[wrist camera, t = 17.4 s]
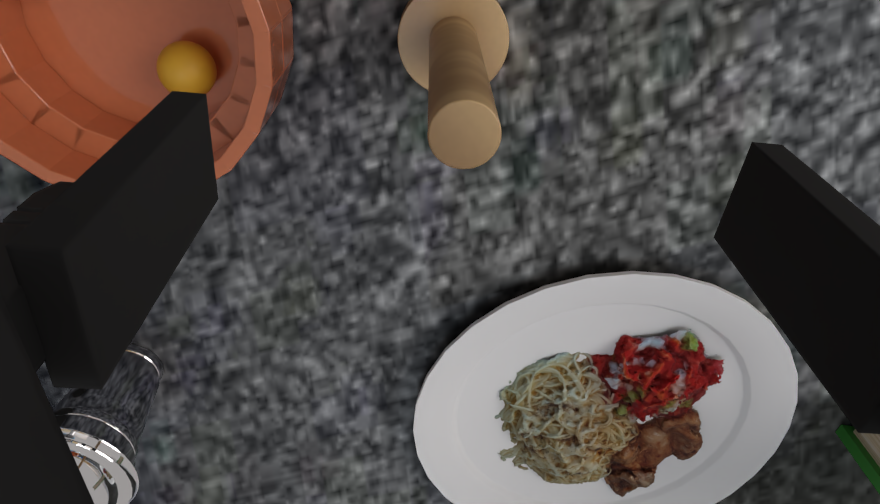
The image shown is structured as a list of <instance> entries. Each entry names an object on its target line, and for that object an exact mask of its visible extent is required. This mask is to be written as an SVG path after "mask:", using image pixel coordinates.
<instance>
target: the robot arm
mask: <svg viewBox="0 0 880 504" xmlns="http://www.w3.org/2000/svg"><path fill="white" fill-rule="evenodd" d="M217 200H218V193H217V184H216V176H215V167H214V158H213V149H212V140H211V131H210V123H209V114H208V105H207V96H206V94H202V93H191V92H179V91H172V92H171V93H170V94H168V95H167V96H166V97H165V98H164V99H163V100H162V101H161V102H160V103H159V104H158V105H157V106H156V107H154V108H153V109H152V110H151V111H150V112H149V113H148V114H147V115H146V116H145V117H144V118H143V119H141V120H140V121H139V122H138V123H137V124H136V125H135V126H134V127H133V128H132V129H131V130H130V131H129V132H127V133H126V134H125V135H124V136H123V137H122V138H121V139H120V140H119V141H118V142H117V143H116V144H115V145H113V146H112V147H111V148H110V149H109V150H108V151H107V152H106V153H105V154H104V155H103V156H102V157H101V158H99V159H98V160H97V161H96V162H95V163H94V164H93V165H92V166H91V167H90V168H89V169H88V170H86V171H85V172H84V173H83V174H82V175H81V176H80V177H79V178H78V179H77V180H76V181H75V182H62V181H60V182H57V183H55V184H53V185H51V186H49V187H46V188H44V189H42V190H40V191H38V192H35V193H34V194H32V195H31V196H30V197H29V198H28V199H27V200H25V201H24V202H23V203H22V204H21V205H20V206H19V207H17V211H13V212H12V213H10V214H9V215H8V216H7V217H6V218H5V219H3V223H0V504H94V502H93V499H92V497H91V495H90V493H89V490H88V488H87V486H86V484H85V482H84V479H83V477H82V475H81V473H80V470H79V468H78V466H77V464H76V461H75V459H74V457H73V455H72V452H71V450H70V448H69V446H68V443H67V441H66V439H65V437H64V435H63V432H62V430H61V428H60V426H59V423H58V421H57V419H56V417H55V414H54V412H53V410H52V408H51V405H50V403H49V401H48V399H47V396H46V394H45V392H44V390H43V388H42V385H41V383H40V381H39V379H38V376H37V374H36V371H37V370H38V369H39V367H40V366H41V365H42V363H43V362H44V361H45V363H46V366H47V369H48V372H49V375H50V378H51V381H52V384H53V386H54V387H63V388H81V389H99V390H102V389H103V387H104V385H105V384H106V382H107V380H108V379H109V377H110V375H111V374H112V372H113V371H114V369H115V367H116V366H117V364H118V362H119V361H120V359H121V357H122V356H123V354H124V352H125V351H126V349H127V348H128V346H129V344H130V343H131V341H132V339H133V338H134V336H135V334H136V333H137V331H138V330H139V328H140V326H141V325H142V323H143V321H144V320H145V318H146V316H147V315H148V313H149V311H150V310H151V308H152V307H153V305H154V303H155V302H156V300H157V298H158V297H159V295H160V293H161V292H162V290H163V289H164V287H165V285H166V284H167V282H168V280H169V279H170V277H171V275H172V274H173V272H174V270H175V269H176V267H177V266H178V264H179V262H180V261H181V259H182V257H183V256H184V254H185V252H186V251H187V249H188V248H189V246H190V244H191V243H192V241H193V239H194V238H195V236H196V234H197V233H198V231H199V229H200V228H201V226H202V225H203V223H204V221H205V220H206V218H207V216H208V215H209V213H210V211H211V210H212V208H213V207H214V205H215V203H216V202H217ZM714 238H715V240H716V241H717V242H718V244H719V245H720V246H721V248H722V249H723V251H724V252H725V253H726V255H727V256H728V257H729V259H730V260H731V261H732V263H733V264H734V265H735V267H736V268H737V269H738V271H739V272H740V274H741V275H742V276H743V278H744V279H745V280H746V282H747V283H748V284H749V286H750V287H751V288H752V290H753V291H754V292H755V294H756V295H757V297H758V298H759V299H760V301H761V302H762V303H763V305H764V306H765V307H766V309H767V310H768V311H769V313H770V314H771V315H772V317H773V318H774V320H775V321H776V322H777V324H778V325H779V326H780V328H781V329H782V330H783V332H784V333H785V334H786V336H787V337H788V338H789V340H790V341H791V343H792V344H793V345H794V347H795V348H796V349H797V351H798V352H799V353H800V355H801V356H802V357H803V359H804V360H805V361H806V363H807V364H808V366H809V367H810V368H811V370H812V371H813V372H814V374H815V375H816V376H817V378H818V379H819V380H820V382H821V383H822V384H823V386H824V387H825V389H826V390H827V391H828V393H829V394H830V395H831V397H832V398H833V399H834V401H835V402H836V403H837V405H838V406H839V407H840V409H841V410H842V411H843V413H844V414H845V416H846V417H847V418H848V420H849V421H850V422H851V424H852V425H853V426H854V428H855V429H856V430H857V432H858V433H870V434H880V226H879V225H878V224H877V223H876V222H874V221H873V220H872V219H871V218H870V217H868V216H867V215H866V214H865V213H864V212H862V211H861V210H860V209H859V208H858V207H856V206H855V205H854V204H853V203H852V202H850V201H849V200H848V199H847V198H845V197H844V196H843V195H842V194H841V193H839V192H838V191H837V190H836V189H835V188H833V187H832V186H831V185H830V184H829V183H827V182H826V181H825V180H824V179H823V178H821V177H820V176H819V175H818V174H817V173H815V172H814V171H813V170H812V169H810V168H809V167H808V166H807V165H806V164H804V163H803V162H802V161H801V160H800V159H798V158H797V157H796V156H795V155H794V154H792V153H791V152H790V151H789V150H788V149H786V148H785V147H784V146H783V145H778V144H766V143H755V142H752V144H751V146H750V149H749V151H748V154H747V156H746V159H745V161H744V164H743V166H742V169H741V171H740V174H739V176H738V179H737V181H736V184H735V186H734V188H733V191H732V193H731V196H730V198H729V201H728V203H727V206H726V208H725V211H724V213H723V216H722V218H721V221H720V223H719V226H718V228H717V231H716V233H715V236H714Z"/></svg>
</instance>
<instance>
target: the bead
mask: <svg viewBox="0 0 880 504" xmlns="http://www.w3.org/2000/svg"><path fill="white" fill-rule="evenodd" d="M156 68H157V74H158V77H159V80H160V81H161V83H162V84H163V86H164V87H165V88H166V89H167V90H168V91H169V92H172V91H179V92H191V93H202V94H206V93H208V92H209V91H210V90H211V89H212V87H213V86H214V84H215V81H216V77H217V69H216V64H215V62H214V59H213V58H212V56H211V55H210V53H209V52H208V51H207V50H206V49H205V48H204V47H202V46H201V45H199V44H197V43H194V42H191V41H176V42H173V43H171V44H169V45H167V46H166V47H165V48H164V49H163V50H162V51H161V52H160V54H159V56H158V59H157V65H156Z"/></svg>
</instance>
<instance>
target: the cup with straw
mask: <svg viewBox="0 0 880 504" xmlns="http://www.w3.org/2000/svg"><path fill="white" fill-rule="evenodd" d="M162 376H163V366H162V364H161V361H160V360H159V359H158V357H157V356H156V355H155V354H153V353H152V352H151V351H149V350H147V349H146V348H144V347H141V346H138V345H134V344H129V346H128V348H127V349H126V351H125V352H124V354H123V356H122V357H121V359H120V361H119V362H118V364H117V366H116V367H115V369H114V371H113V372H112V374H111V375H110V377H109V379H108V380H107V382H106V384H105V385H104V387H103V389H102V390H99V389H81V388H71V390H70V391H69V392H68V393H67V394H66V395H65V396H64V397H63V399H62V400H61V401H60V402H59V403H58V404H57V405H56V406H55V407H54V409H53V412H54V414H55V417H56V419H57V421H58V423H59V426H60V428H61V430H62V432H63V435H64V437H65V439H66V441H67V443H68V446H69V448H70V450H71V452H72V455H73V457H74V459H75V461H76V464H77V466H78V468H79V470H80V473H81V475H82V477H83V479H84V482H85V484H86V486H87V488H88V490H89V493H90V495H91V497H92V499H93V502H94V504H129V503H130V501H131V500H132V499H133V498H134V497H135V495H136V493H137V491H138V486H139V478H138V475H137V471H136V469H135V467H134V466H135V459H136V456H137V453H138V443H139V441H140V438H141V435H142V432H143V429H144V427H145V424H146V421H147V418H148V415H149V412H150V410H151V407H152V404H153V401H154V398H155V396H156V393H157V390H158V387H159V381H160V379H161V378H162Z"/></svg>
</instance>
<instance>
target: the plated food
mask: <svg viewBox="0 0 880 504" xmlns="http://www.w3.org/2000/svg"><path fill="white" fill-rule="evenodd" d="M797 393H798V374H797V371H796V367H795V364H794V361H793V357H792V354H791V351H790V348H789V347H788V345H787V344H786V342H785V341H784V339H783V338H782V336H781V335H780V333H779V332H778V330H777V329H776V327H775V326H774V325H773V323H772V322H771V321H770V320H769V319H768V318H767V317H766V316H764V315H763V314H762V313H761V312H760V311H758V310H757V309H756V308H755V307H754V306H752V305H751V304H750V303H749V302H748V301H746V300H745V299H743V298H741V297H739V296H737V295H735V294H733V293H730V292H728V291H726V290H724V289H722V288H720V287H718V286H716V285H714V284H711V283H707V282H703V281H700V280H696V279H692V278H688V277H684V276H680V275H676V274H668V273H654V272H641V271H624V272H613V273H601V274H590V275H584V276H580V277H576V278H572V279H568V280H564V281H560V282H556V283H552V284H548V285H544V286H542V287H540V288H537V289H535V290H533V291H530V292H528V293H526V294H523V295H521V296H518V297H516V298H514V299H511V300H509V301H507V302H505V303H503V304H501V305H500V306H498V307H497V308H495V309H494V310H492V311H490V312H489V313H487V314H486V315H484V316H483V317H481V318H479V319H478V320H476V321H475V322H473V323H472V324H471V325H469V326H468V327H467V328H466V329H465V330H464V331H463V332H462V333H461V334H460V335H459V336H458V337H457V338H456V339H454V340H453V341H452V342H451V343H450V344H449V345H448V346H447V347H446V348H445V349H444V350H443V352H442V353H441V355H440V356H439V358H438V359H437V360H436V362H435V363H434V365H433V366H432V368H431V369H430V370H429V372H428V373H427V375H426V377H425V380H424V382H423V385H422V387H421V390H420V393H419V395H418V398H417V400H416V406H415V416H414V425H413V433H414V439H415V445H416V450H417V456H418V458H419V460H420V462H421V464H422V466H423V468H424V470H425V472H426V474H427V476H428V478H429V479H430V480H431V482H432V483H433V484H434V485H435V486H436V487H437V489H438V490H439V491H440V492H441V493H442V494H443V496H444V497H445V498H447V499H448V500H449V501H451V502H452V503H453V504H715V503H717V502H719V501H720V500H722V499H724V498H726V497H727V496H729V495H731V494H732V493H733V492H734V491H736V490H737V489H738V488H739V487H741V486H742V485H743V484H744V483H746V482H747V481H748V480H749V479H751V478H752V477H753V476H754V475H755V474H756V473H757V472H758V471H759V470H760V469H761V468H762V467H763V465H764V464H765V463H766V462H767V461H768V460H769V459H770V458H771V456H772V455H773V454H774V453H775V452H776V450H777V448H778V447H779V445H780V443H781V441H782V440H783V438H784V436H785V435H786V433H787V431H788V429H789V428H790V424H791V421H792V418H793V414H794V411H795V408H796V404H797Z"/></svg>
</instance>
